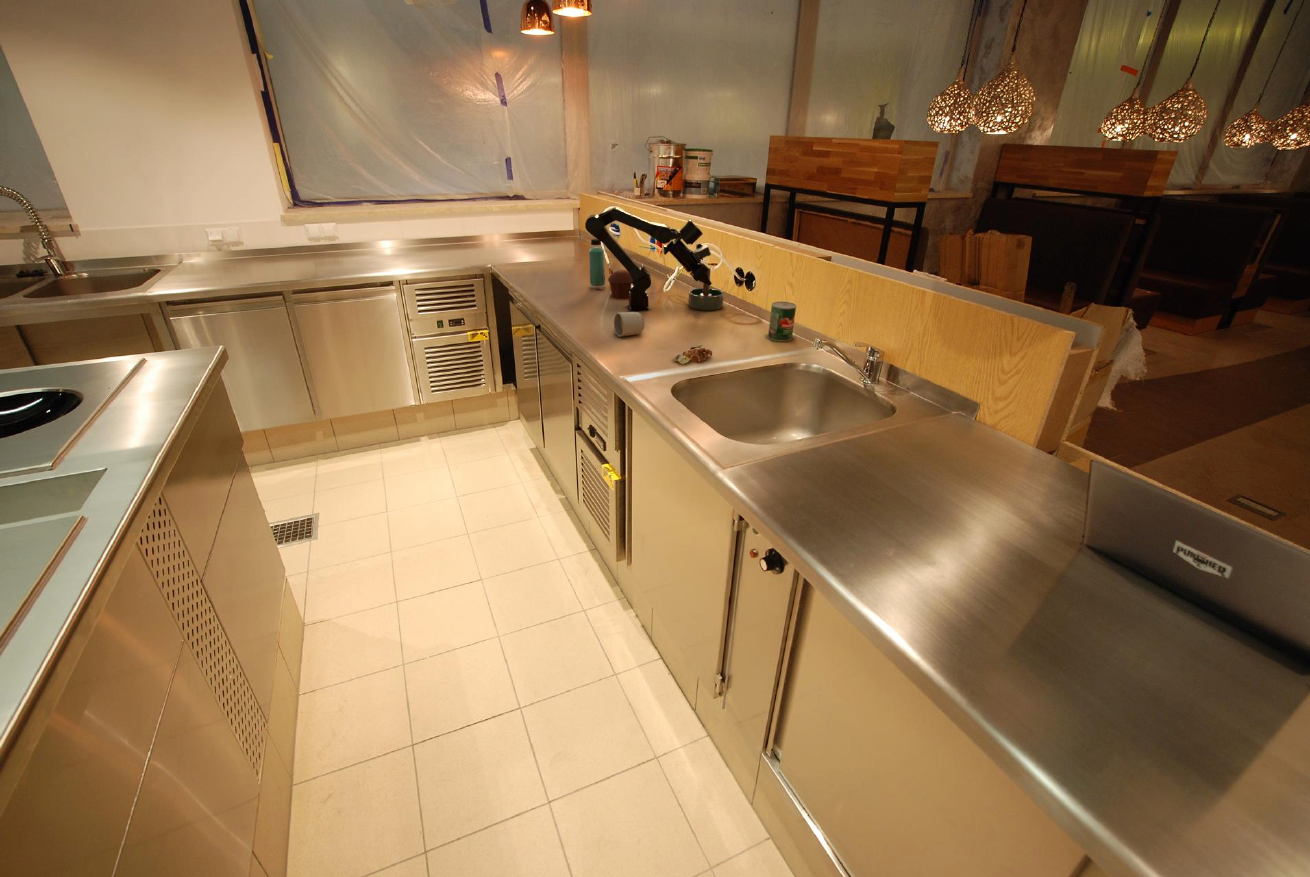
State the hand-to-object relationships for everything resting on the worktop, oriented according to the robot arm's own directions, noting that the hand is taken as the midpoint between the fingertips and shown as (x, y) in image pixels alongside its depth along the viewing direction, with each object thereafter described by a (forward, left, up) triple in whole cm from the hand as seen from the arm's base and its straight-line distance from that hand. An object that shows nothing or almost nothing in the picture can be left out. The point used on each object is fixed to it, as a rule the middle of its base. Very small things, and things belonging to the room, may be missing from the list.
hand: (709, 283), depth 215 cm
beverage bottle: (-35, +40, -9) cm, 54 cm away
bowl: (-1, +2, -9) cm, 9 cm away
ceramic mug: (-39, -22, -9) cm, 46 cm away
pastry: (-26, -50, -9) cm, 57 cm away
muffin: (-28, +25, -9) cm, 38 cm away
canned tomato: (+9, -39, -9) cm, 41 cm away
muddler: (-1, 0, -7) cm, 7 cm away
